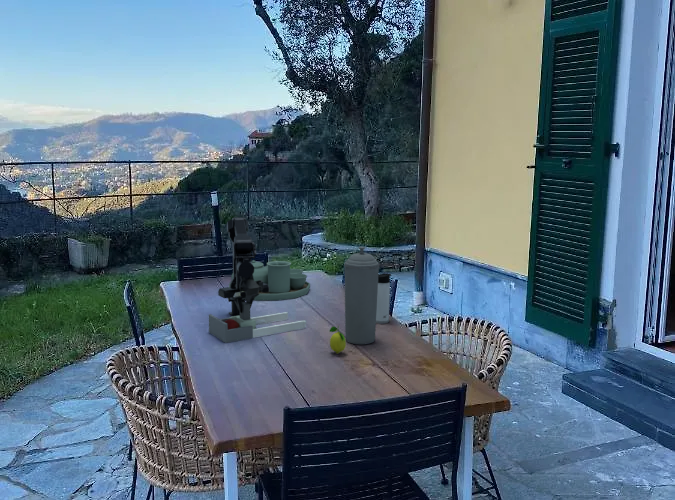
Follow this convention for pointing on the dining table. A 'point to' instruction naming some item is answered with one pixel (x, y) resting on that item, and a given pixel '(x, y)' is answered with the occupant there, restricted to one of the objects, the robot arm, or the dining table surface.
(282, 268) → the tea set
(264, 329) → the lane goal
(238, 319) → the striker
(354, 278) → the canister
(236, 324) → the onion
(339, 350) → the lemon
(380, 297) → the travel mug
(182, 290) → the dining table surface
